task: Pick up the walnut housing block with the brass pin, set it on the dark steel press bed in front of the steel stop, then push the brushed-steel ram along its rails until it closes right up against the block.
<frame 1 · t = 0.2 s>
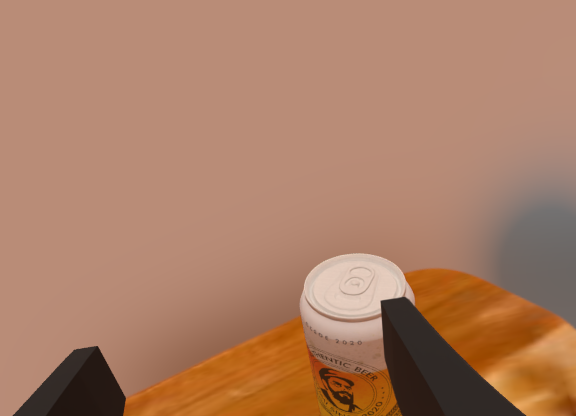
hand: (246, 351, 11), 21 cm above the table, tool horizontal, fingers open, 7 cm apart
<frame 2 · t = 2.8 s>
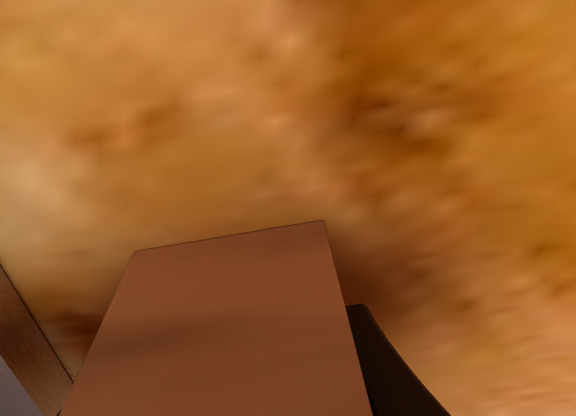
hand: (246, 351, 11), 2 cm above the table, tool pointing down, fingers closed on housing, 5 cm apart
housing: (247, 307, 12), on the table, touching gripper
when the fingers open (4 cm above the table, at t = 6.2 s): housing stays where it is, resting on press frame.
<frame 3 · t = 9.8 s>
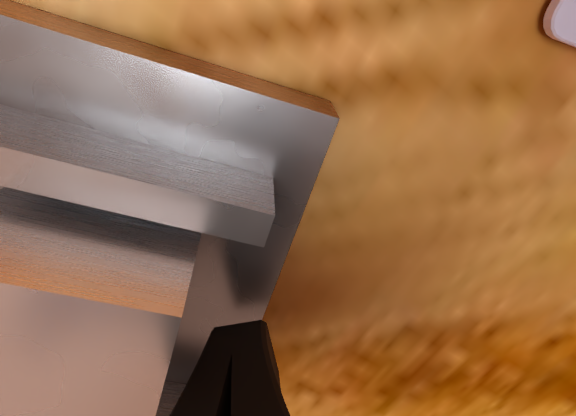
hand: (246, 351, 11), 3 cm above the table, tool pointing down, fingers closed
ram: (56, 337, 9), point 4 cm above the table, slide at 0.3 cm, touching gripper
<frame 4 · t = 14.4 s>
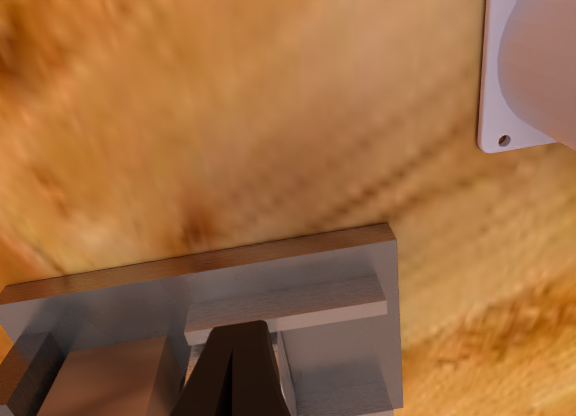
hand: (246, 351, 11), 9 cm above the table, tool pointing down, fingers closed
ram: (237, 394, 20), point 4 cm above the table, slide at 4.0 cm
housing: (134, 377, 22), point 1 cm above the table, touching press frame
press frame: (223, 341, 23), on the table
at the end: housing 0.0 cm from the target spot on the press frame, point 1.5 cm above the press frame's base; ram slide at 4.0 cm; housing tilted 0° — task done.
